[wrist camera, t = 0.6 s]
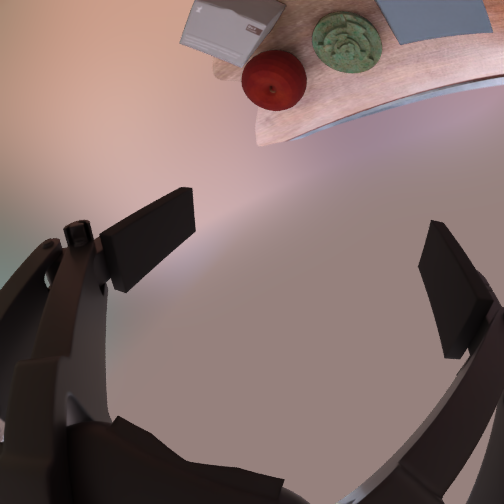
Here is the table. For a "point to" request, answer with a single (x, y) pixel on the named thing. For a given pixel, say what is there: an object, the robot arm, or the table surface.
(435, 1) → the cabinet
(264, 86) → the apple
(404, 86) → the table surface
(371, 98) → the table surface
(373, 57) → the decorative artifact
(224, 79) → the table surface
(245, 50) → the cosmetic box
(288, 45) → the table surface
